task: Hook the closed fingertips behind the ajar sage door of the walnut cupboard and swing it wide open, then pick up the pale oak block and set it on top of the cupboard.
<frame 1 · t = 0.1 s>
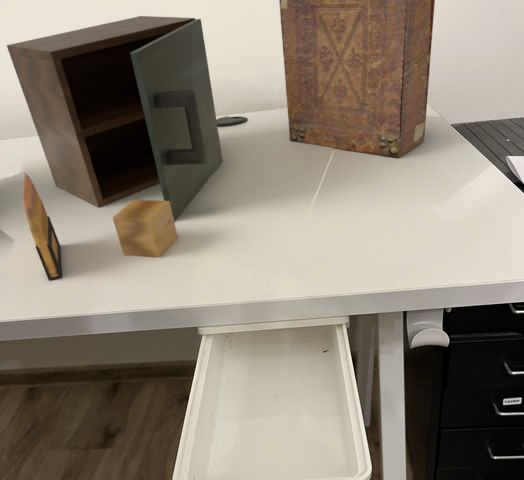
book: (354, 142, 108), on the table
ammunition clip: (55, 263, 81), on the table
cupboard: (137, 173, 107), on the table
door: (202, 116, 89), point 12 cm above the table, hinge at 35.0°
oak block: (151, 247, 81), on the table
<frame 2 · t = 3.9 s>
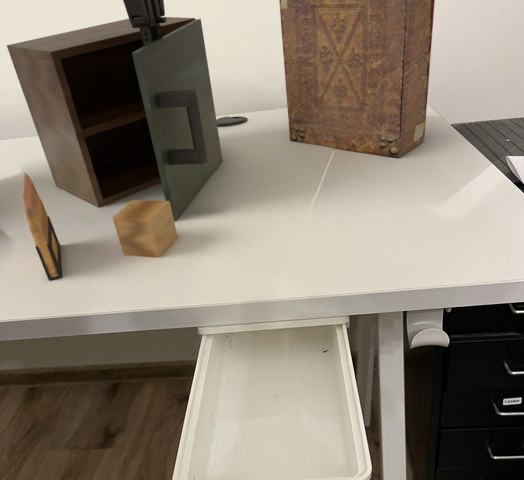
hand: (159, 74, 84), 19 cm above the table, tool pointing down, fingers closed
door: (202, 116, 89), point 12 cm above the table, hinge at 35.6°, touching gripper
everything else where it was.
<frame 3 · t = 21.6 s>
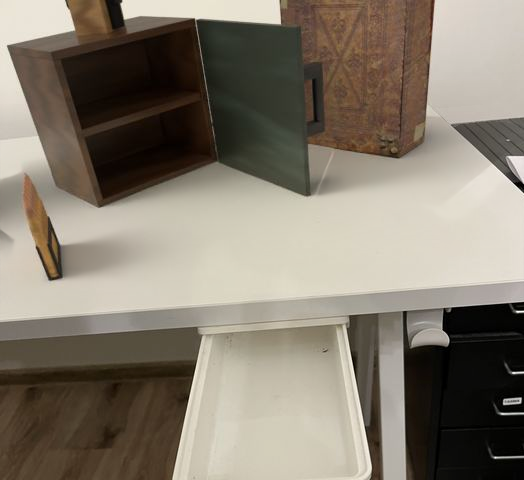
hand: (101, 29, 92), 25 cm above the table, tool pointing down, fingers closed on oak block, 6 cm apart
door: (266, 101, 92), point 12 cm above the table, hinge at 85.5°
oak block: (101, 31, 92), point 24 cm above the table, touching cupboard, gripper
everything else where it was.
when the fingers open (25 cm above the table, at t = 21.9 s): oak block stays where it is, resting on cupboard.
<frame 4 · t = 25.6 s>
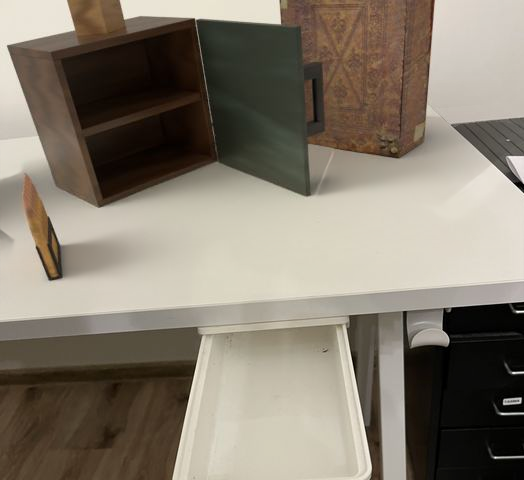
oak block: (101, 31, 92), point 24 cm above the table, touching cupboard
everything else where it was.
at the end: door at +86° (first picture: +35°); oak block inside the target area on the cupboard (0.1 cm from its centre), point 24.4 cm above the cupboard's base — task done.
